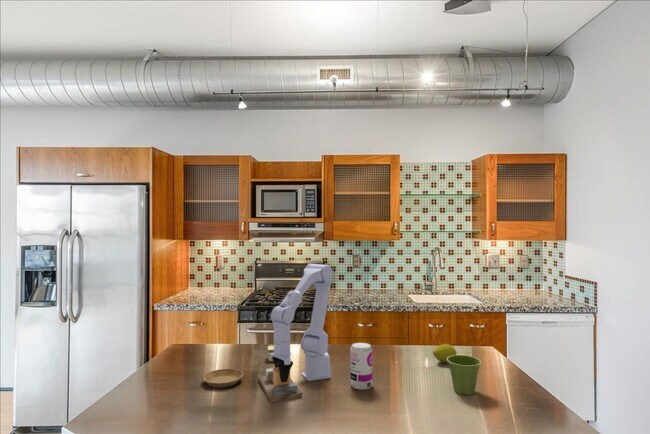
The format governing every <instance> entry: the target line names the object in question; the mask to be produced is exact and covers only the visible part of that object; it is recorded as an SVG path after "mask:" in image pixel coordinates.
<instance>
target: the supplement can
mask: <svg viewBox="0 0 650 434" xmlns="http://www.w3.org/2000/svg"><path fill="white" fill-rule="evenodd" d="M349 352H350V353H349V355H350V356H349V357H350V359H349V363H350V365H349V367H350V368H349V369H350V370H349V373H350V376H349V377H350V380H349V381H350V383H349V385H350V386H351V387H352V388H353V389H355V390H361V391H362V390H363V391H364V390H369V389H370V388H372V386H373V348H372V345H371V344H370V343H367V342H354V343H352V344H351V347H350V351H349Z"/></svg>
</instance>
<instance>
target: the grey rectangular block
mask: <svg viewBox="0 0 650 434" xmlns="http://www.w3.org/2000/svg"><path fill="white" fill-rule="evenodd" d="M273 368H274V367H271V368H266V369H265V376H266V380H267V382H272V381H273Z"/></svg>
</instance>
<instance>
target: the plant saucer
mask: <svg viewBox="0 0 650 434" xmlns="http://www.w3.org/2000/svg"><path fill="white" fill-rule="evenodd" d="M243 377H244V372H243V371H242V370H239V369H234V368H223V369H217V370H213V371H212V370H211V371H210V372H207V373H206V374H205V375H203V380H204V381H205V383H206V384H207V385H209V386H210V387H212V388H227V387H228V388H229V387H231V386H235V385H236V384H237V383H239V381H240V380H242V378H243Z"/></svg>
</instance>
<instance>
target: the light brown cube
mask: <svg viewBox="0 0 650 434" xmlns="http://www.w3.org/2000/svg"><path fill="white" fill-rule="evenodd" d="M272 368H273V383H274V384H275V386H278V385H284V384H290V378H291V371H290V372H289V376H288V380H287V382H281V379H280V372H279V368H278V367H276V368H275V367H272Z"/></svg>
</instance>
